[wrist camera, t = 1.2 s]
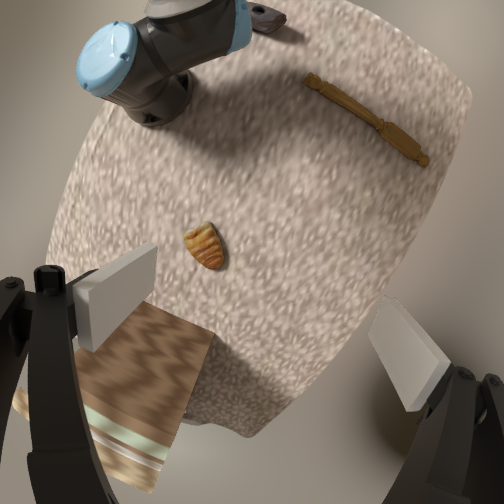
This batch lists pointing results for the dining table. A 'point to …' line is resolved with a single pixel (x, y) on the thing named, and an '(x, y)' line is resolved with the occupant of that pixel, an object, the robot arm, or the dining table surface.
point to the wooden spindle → (371, 120)
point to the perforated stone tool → (265, 17)
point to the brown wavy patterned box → (141, 383)
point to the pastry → (205, 245)
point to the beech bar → (105, 456)
